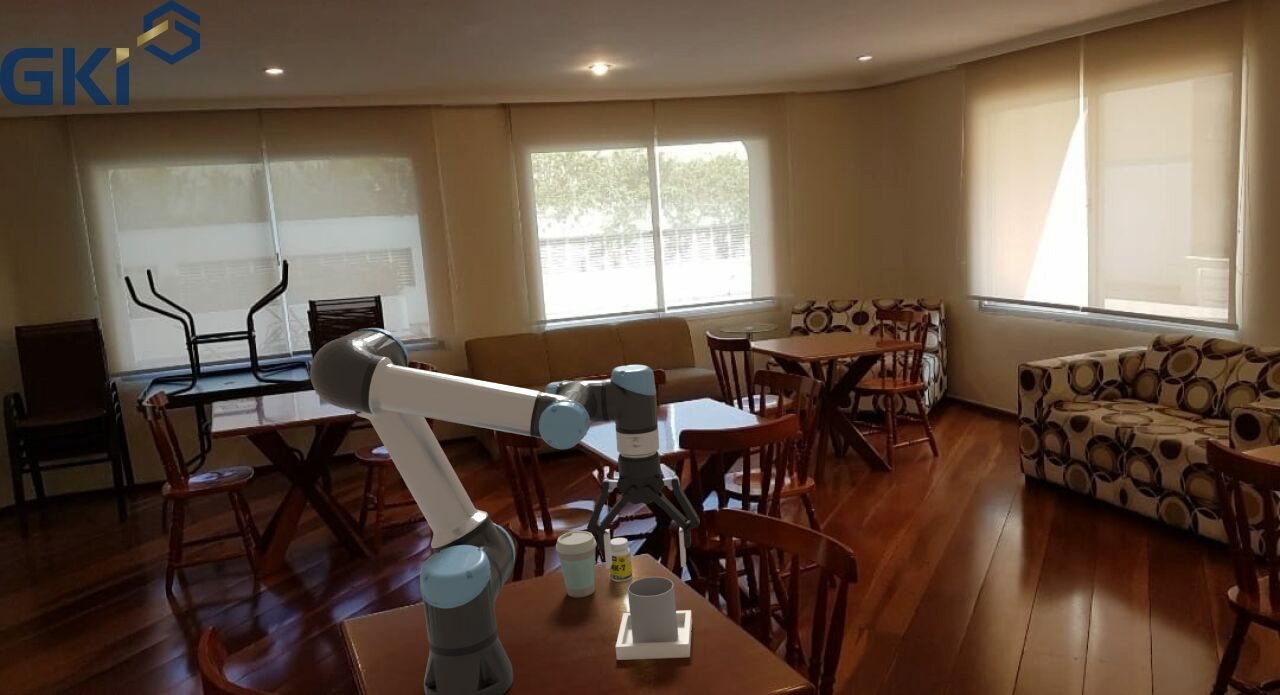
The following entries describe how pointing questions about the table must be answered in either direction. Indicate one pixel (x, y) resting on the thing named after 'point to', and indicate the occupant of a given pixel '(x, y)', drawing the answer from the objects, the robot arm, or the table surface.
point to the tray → (655, 650)
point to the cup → (653, 610)
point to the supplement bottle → (620, 560)
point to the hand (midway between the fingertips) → (646, 565)
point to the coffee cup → (577, 562)
